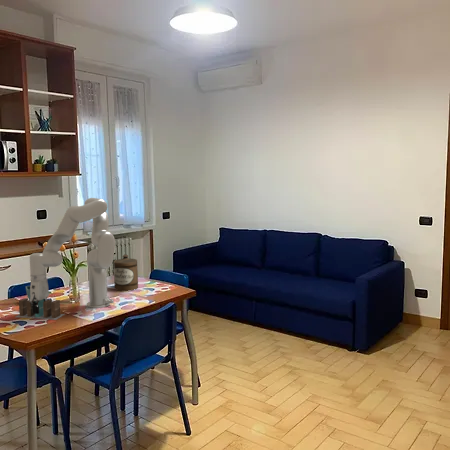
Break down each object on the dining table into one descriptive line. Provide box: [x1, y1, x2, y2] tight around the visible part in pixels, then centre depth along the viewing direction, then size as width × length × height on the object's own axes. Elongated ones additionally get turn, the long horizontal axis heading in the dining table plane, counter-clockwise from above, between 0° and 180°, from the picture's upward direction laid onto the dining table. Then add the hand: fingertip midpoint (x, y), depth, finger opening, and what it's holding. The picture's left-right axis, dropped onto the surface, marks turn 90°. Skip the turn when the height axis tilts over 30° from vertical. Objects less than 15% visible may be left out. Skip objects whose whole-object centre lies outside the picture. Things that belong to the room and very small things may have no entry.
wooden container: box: [113, 254, 139, 292], centre depth 297 cm, size 15×15×22 cm
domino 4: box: [51, 299, 61, 318], centre depth 238 cm, size 2×5×8 cm, turn 170°
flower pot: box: [25, 285, 31, 301], centre depth 265 cm, size 9×9×9 cm
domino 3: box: [43, 299, 53, 318], centre depth 239 cm, size 2×5×8 cm, turn 170°
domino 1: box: [18, 297, 29, 316], centre depth 241 cm, size 2×5×8 cm, turn 170°
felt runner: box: [15, 313, 66, 320], centre depth 240 cm, size 23×9×1 cm, turn 80°
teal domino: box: [35, 299, 44, 317], centre depth 240 cm, size 2×5×8 cm, turn 171°
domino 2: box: [27, 299, 36, 317], centre depth 240 cm, size 2×5×8 cm, turn 170°
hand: (39, 311), depth 240 cm, fingers open, 6 cm apart
